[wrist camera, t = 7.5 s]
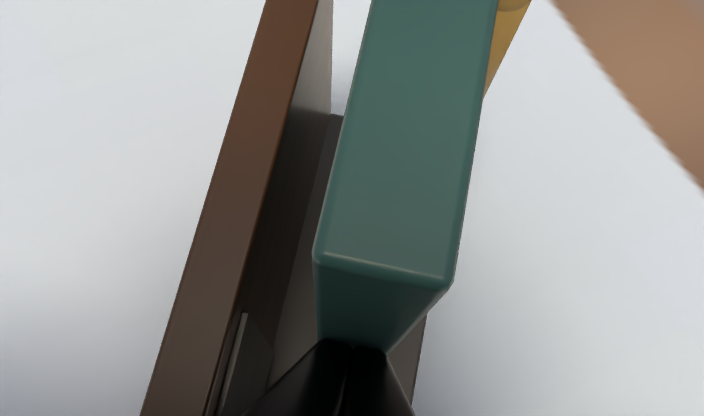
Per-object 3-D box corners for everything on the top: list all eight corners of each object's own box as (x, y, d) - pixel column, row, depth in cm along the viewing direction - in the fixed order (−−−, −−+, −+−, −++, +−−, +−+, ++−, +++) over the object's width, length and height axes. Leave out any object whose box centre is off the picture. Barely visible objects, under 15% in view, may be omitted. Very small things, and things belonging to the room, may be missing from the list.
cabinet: (357, 693, 13) (391, 971, 6) (162, 648, 13) (-2, 873, 6) (451, 152, 17) (532, -22, 10) (300, 120, 17) (286, -71, 10)
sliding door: (405, 393, 14) (588, 322, 4) (318, 373, 14) (308, 261, 4) (448, 143, 16) (641, -287, 6) (372, 127, 16) (448, -324, 6)
